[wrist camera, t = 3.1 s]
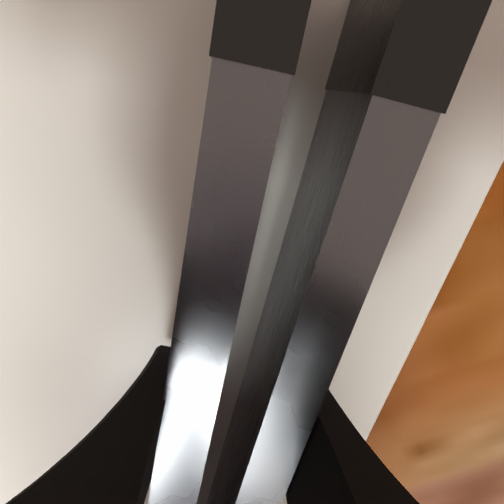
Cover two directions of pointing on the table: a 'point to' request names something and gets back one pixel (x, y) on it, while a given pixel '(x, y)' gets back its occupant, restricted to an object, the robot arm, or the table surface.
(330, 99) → the tongs base
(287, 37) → the tongs arm
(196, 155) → the cutting board
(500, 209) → the table surface
